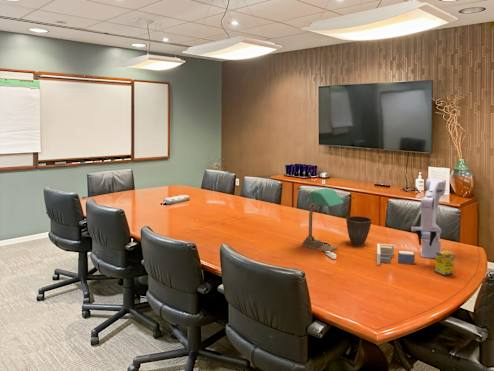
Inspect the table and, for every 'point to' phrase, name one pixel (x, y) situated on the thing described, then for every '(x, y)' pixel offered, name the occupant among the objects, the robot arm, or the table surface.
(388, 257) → the book rack
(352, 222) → the plant pot
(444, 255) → the supplement box
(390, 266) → the table surface
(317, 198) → the banker's lamp
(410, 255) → the boxed book
